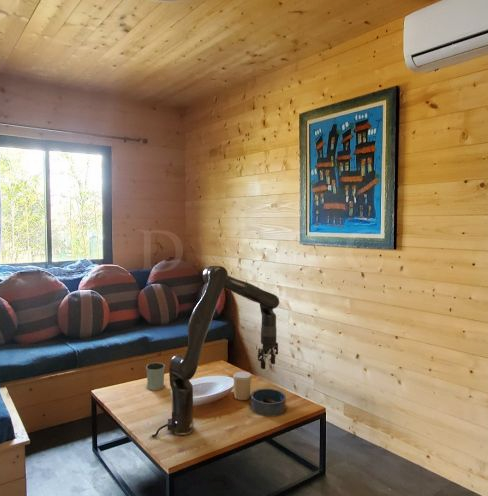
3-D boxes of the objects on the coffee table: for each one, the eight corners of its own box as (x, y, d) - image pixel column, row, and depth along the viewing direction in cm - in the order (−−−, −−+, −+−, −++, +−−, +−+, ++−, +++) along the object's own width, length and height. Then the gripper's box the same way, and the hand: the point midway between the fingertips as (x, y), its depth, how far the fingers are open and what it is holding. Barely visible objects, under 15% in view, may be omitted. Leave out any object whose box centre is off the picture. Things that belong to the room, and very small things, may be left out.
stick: (263, 396, 212) (265, 397, 214) (261, 401, 211) (264, 402, 213) (278, 401, 206) (280, 402, 208) (276, 406, 206) (279, 407, 208)
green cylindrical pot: (159, 381, 238) (158, 361, 236) (168, 387, 230) (168, 366, 229) (142, 386, 231) (142, 365, 230) (152, 392, 223) (152, 370, 222)
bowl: (254, 416, 199) (254, 404, 198) (248, 400, 215) (248, 389, 215) (289, 415, 201) (289, 402, 200) (280, 399, 217) (281, 388, 217)
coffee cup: (251, 393, 224) (251, 371, 223) (250, 401, 215) (251, 378, 213) (233, 392, 225) (234, 370, 224) (232, 400, 215) (232, 377, 214)
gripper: (270, 329, 214) (269, 360, 215) (253, 335, 203) (253, 368, 204) (283, 332, 209) (282, 364, 210) (267, 338, 198) (266, 372, 199)
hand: (268, 366), depth 207 cm, fingers open, 8 cm apart
